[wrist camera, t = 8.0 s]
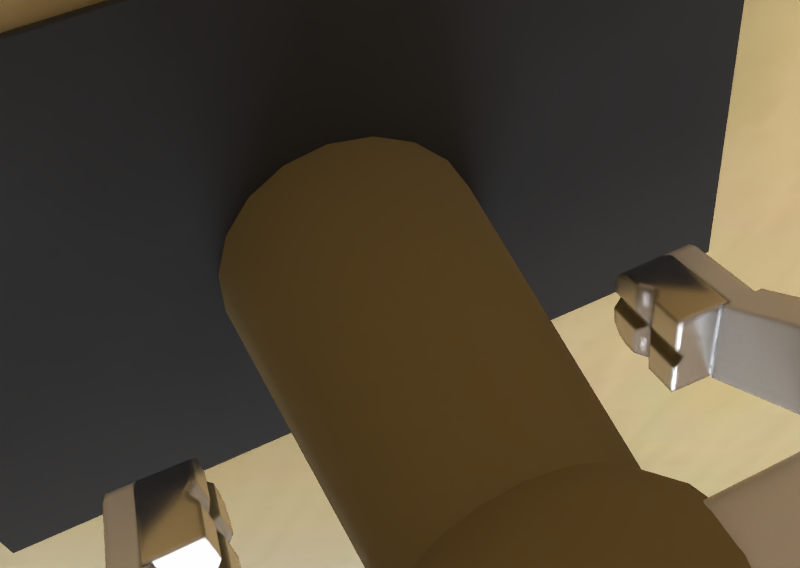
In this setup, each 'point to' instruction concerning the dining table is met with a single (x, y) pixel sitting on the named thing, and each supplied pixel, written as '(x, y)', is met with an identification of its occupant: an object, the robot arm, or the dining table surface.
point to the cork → (438, 378)
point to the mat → (281, 144)
